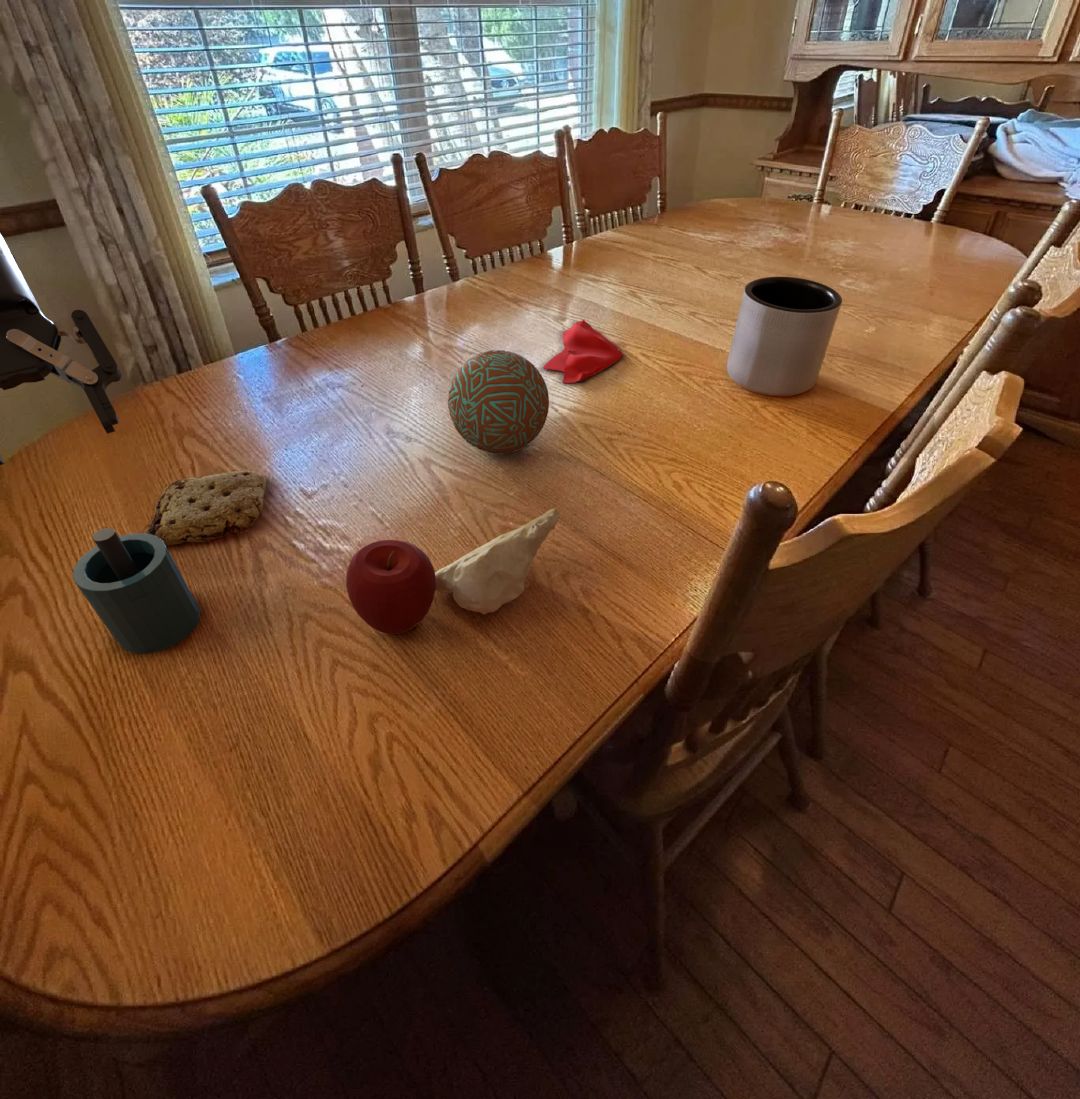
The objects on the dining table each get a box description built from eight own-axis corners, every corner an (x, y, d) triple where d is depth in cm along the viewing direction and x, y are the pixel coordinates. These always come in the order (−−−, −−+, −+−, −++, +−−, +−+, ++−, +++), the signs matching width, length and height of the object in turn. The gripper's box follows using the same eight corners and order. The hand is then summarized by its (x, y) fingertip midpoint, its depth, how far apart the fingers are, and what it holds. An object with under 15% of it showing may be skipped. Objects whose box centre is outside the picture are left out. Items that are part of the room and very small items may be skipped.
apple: (406, 664, 68) (392, 601, 61) (339, 630, 71) (318, 567, 65) (457, 606, 74) (449, 544, 67) (392, 578, 77) (379, 515, 71)
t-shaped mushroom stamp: (138, 636, 69) (81, 551, 61) (131, 619, 71) (75, 535, 62) (180, 617, 71) (131, 533, 63) (172, 602, 73) (124, 517, 64)
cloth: (608, 389, 112) (609, 378, 111) (534, 378, 115) (534, 367, 113) (633, 330, 131) (634, 319, 129) (569, 322, 133) (569, 311, 132)
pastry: (303, 500, 88) (297, 483, 86) (194, 572, 78) (185, 555, 76) (224, 460, 95) (218, 443, 93) (114, 522, 85) (104, 505, 83)
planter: (807, 361, 121) (833, 278, 110) (822, 403, 109) (853, 315, 98) (722, 355, 122) (739, 272, 112) (727, 396, 111) (748, 308, 100)
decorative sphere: (566, 438, 100) (570, 349, 90) (510, 485, 91) (508, 392, 81) (491, 410, 107) (487, 324, 96) (432, 452, 97) (420, 361, 87)
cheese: (437, 649, 72) (539, 606, 64) (403, 594, 71) (502, 544, 63) (497, 592, 85) (587, 551, 77) (468, 545, 84) (557, 499, 76)
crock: (127, 666, 67) (81, 604, 61) (109, 618, 72) (65, 555, 66) (210, 628, 71) (175, 565, 65) (187, 585, 76) (153, 522, 69)
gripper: (-173, 263, 46) (-65, 464, 48) (48, 228, 53) (139, 405, 54) (-121, 312, 53) (-28, 486, 54) (69, 275, 59) (150, 432, 61)
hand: (55, 446), depth 54 cm, fingers open, 8 cm apart
